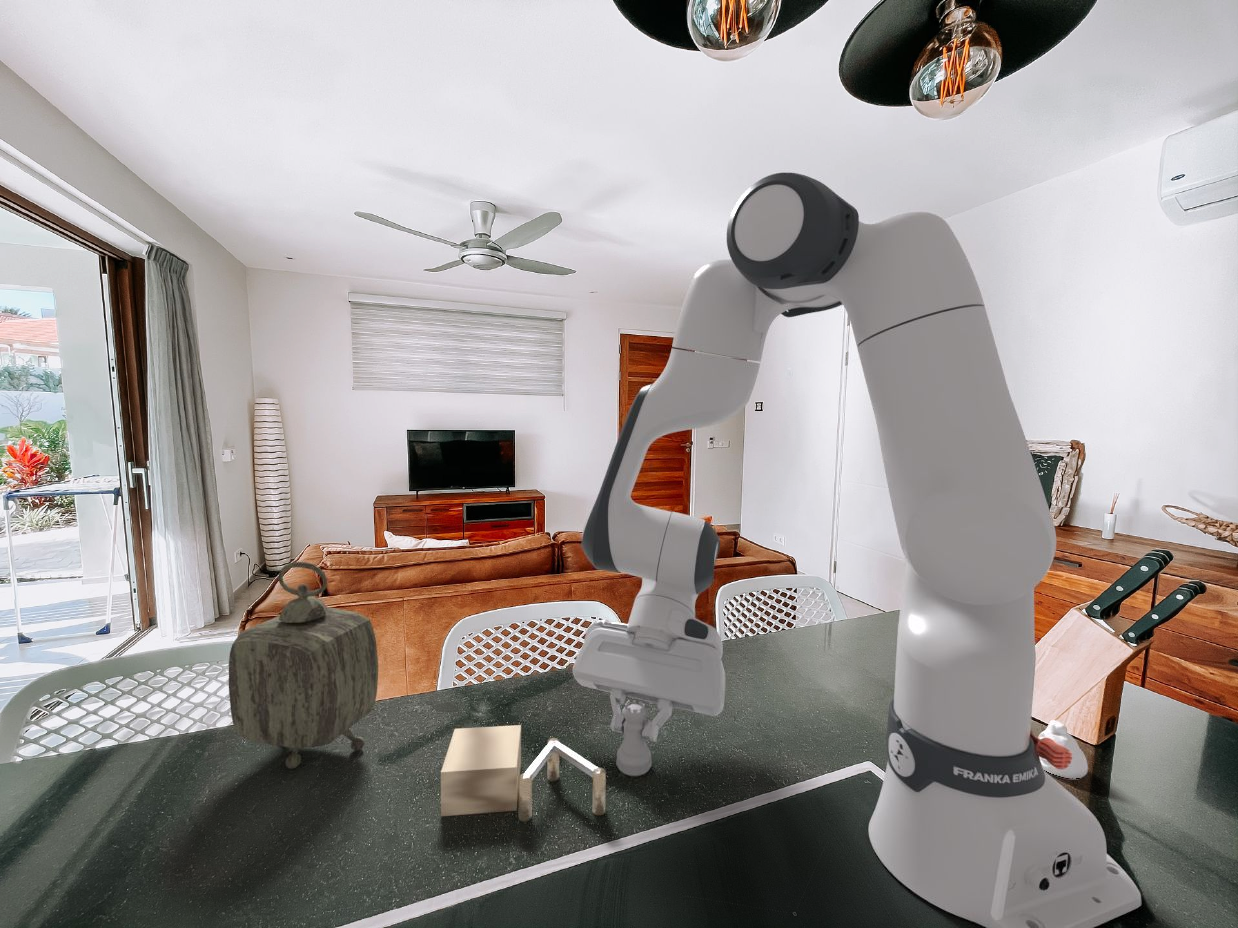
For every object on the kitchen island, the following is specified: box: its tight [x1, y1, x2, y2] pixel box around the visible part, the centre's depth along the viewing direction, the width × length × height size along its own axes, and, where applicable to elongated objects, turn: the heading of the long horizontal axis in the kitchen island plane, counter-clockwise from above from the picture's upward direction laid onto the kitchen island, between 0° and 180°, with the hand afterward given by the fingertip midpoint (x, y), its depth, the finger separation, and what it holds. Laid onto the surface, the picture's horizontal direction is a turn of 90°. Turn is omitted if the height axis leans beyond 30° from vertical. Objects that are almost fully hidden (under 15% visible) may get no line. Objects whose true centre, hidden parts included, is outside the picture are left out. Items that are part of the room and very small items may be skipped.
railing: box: [518, 737, 607, 822], centre depth 59 cm, size 9×7×4 cm
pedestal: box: [440, 724, 522, 817], centre depth 60 cm, size 8×8×5 cm
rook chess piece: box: [615, 698, 653, 777], centre depth 64 cm, size 4×4×8 cm
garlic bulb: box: [1037, 719, 1089, 780], centre depth 65 cm, size 6×6×5 cm
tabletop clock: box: [228, 561, 379, 770], centre depth 64 cm, size 14×9×25 cm, turn 77°
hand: (632, 735), depth 64 cm, fingers closed on rook chess piece, 3 cm apart
